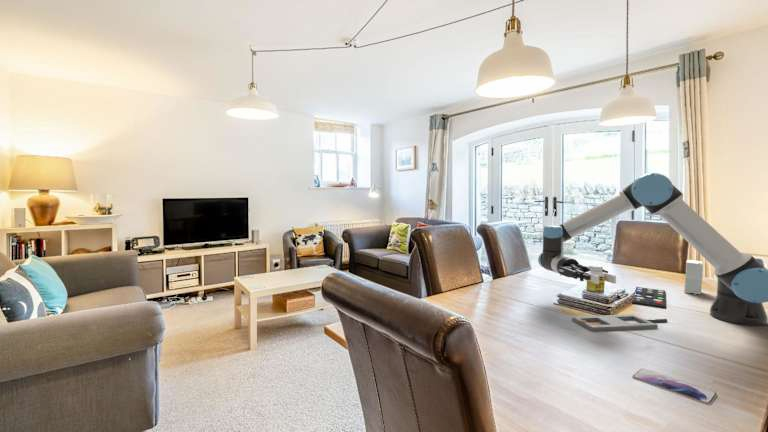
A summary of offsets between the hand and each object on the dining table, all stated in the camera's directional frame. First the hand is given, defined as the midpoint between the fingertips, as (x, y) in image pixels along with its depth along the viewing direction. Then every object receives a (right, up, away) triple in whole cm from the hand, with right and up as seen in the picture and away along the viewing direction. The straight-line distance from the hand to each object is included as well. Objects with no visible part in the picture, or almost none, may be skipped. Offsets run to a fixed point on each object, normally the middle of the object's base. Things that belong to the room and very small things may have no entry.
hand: (606, 279), depth 120 cm
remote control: (+44, -16, +39) cm, 61 cm away
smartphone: (-6, -20, -35) cm, 40 cm away
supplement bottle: (0, -6, +6) cm, 8 cm away
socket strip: (+11, -17, +7) cm, 21 cm away
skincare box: (+70, -15, +47) cm, 86 cm away
